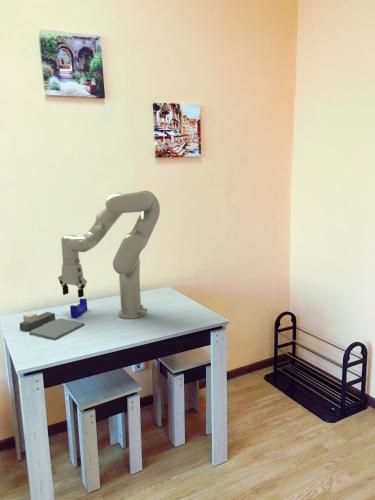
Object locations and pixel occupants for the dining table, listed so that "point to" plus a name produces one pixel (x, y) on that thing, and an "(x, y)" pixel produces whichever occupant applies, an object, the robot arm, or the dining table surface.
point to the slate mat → (57, 328)
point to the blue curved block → (78, 308)
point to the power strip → (36, 320)
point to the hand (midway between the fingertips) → (73, 295)
